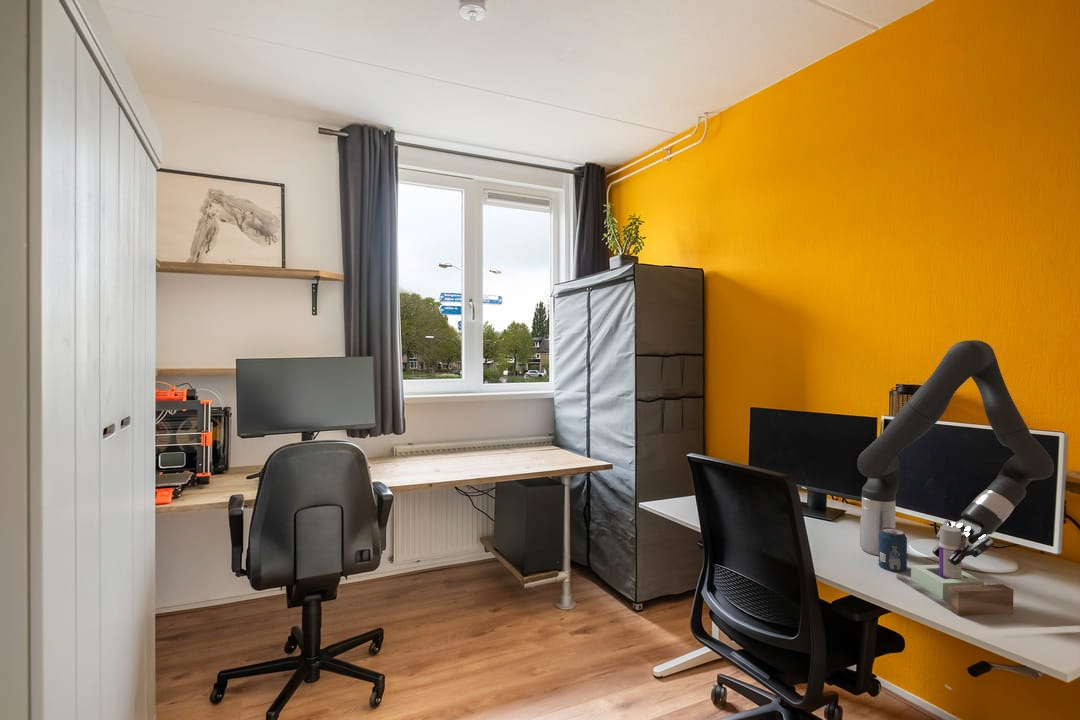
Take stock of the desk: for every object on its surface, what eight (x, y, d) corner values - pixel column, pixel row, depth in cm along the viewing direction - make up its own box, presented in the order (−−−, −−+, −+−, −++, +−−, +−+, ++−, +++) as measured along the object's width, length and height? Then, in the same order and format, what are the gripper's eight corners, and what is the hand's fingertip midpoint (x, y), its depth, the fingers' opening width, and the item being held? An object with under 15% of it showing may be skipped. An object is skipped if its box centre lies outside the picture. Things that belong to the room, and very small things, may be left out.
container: (939, 579, 148) (940, 524, 147) (961, 584, 145) (962, 527, 144) (938, 585, 144) (938, 529, 143) (961, 590, 141) (961, 532, 140)
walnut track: (896, 581, 154) (896, 557, 154) (943, 580, 155) (944, 555, 155) (963, 623, 131) (964, 594, 131) (1019, 621, 132) (1020, 592, 132)
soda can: (893, 565, 165) (894, 526, 165) (912, 575, 158) (913, 534, 158) (873, 567, 164) (873, 527, 164) (891, 577, 157) (891, 535, 157)
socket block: (910, 583, 150) (911, 565, 150) (949, 582, 151) (949, 564, 151) (942, 602, 139) (942, 583, 139) (983, 600, 140) (984, 581, 140)
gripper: (955, 494, 151) (913, 539, 151) (1002, 510, 137) (955, 560, 136) (974, 512, 152) (931, 557, 151) (1022, 530, 137) (976, 580, 137)
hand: (943, 558), depth 144 cm, fingers closed on container, 4 cm apart
